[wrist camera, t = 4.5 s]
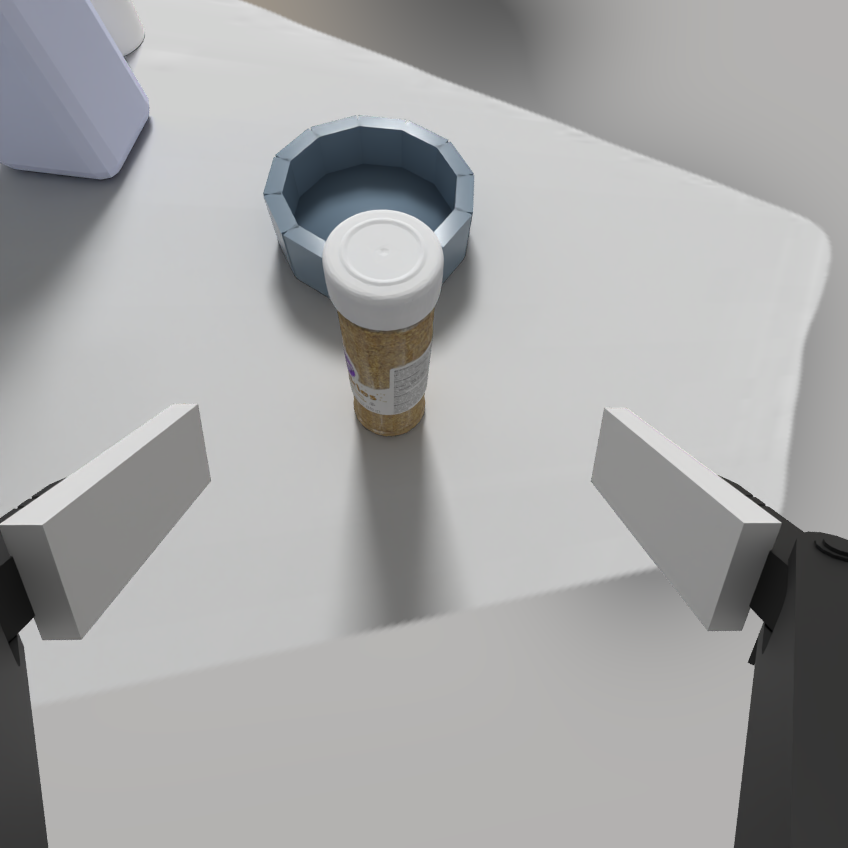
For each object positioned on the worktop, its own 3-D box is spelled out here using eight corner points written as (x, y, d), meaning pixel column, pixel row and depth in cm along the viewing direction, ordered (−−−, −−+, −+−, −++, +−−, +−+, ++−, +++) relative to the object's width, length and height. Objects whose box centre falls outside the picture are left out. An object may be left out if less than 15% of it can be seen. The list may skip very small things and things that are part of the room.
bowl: (321, 332, 31) (310, 293, 27) (256, 194, 35) (239, 145, 32) (498, 267, 34) (510, 224, 30) (417, 148, 38) (419, 98, 35)
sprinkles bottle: (340, 398, 29) (295, 236, 17) (398, 362, 30) (397, 186, 18) (381, 453, 28) (366, 321, 15) (440, 413, 29) (470, 262, 16)
